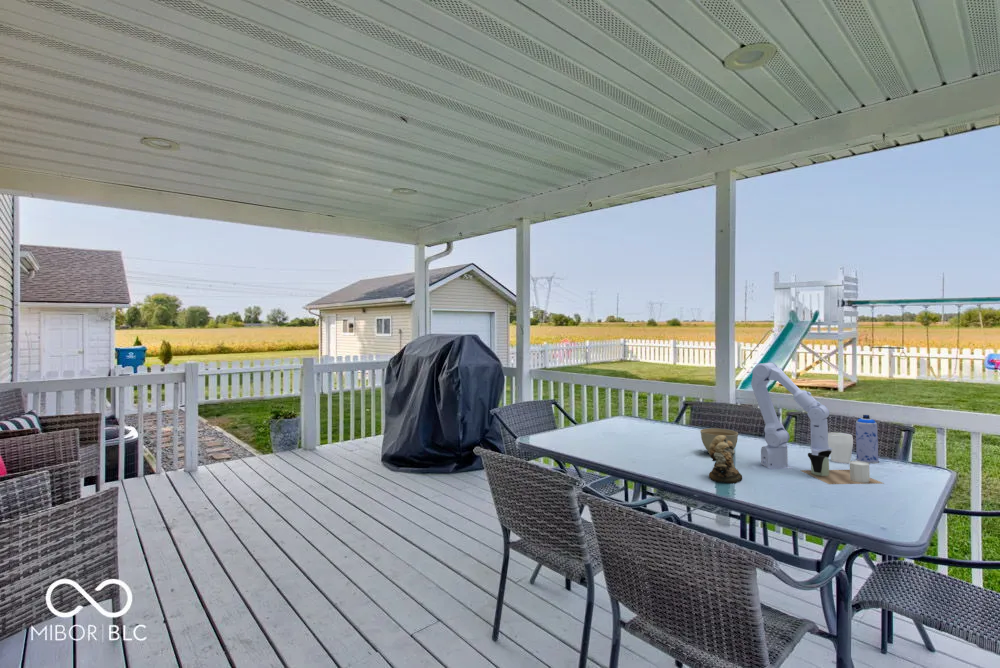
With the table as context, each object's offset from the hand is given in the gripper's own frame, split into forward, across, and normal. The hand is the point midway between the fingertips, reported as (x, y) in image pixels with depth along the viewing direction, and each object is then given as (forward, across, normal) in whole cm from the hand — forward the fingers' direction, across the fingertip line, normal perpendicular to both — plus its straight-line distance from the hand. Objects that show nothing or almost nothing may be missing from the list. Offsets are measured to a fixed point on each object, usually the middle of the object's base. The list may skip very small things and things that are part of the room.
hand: (820, 470), depth 189 cm
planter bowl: (+2, +6, +42) cm, 42 cm away
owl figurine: (+2, -28, +26) cm, 38 cm away
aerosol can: (+2, +36, -9) cm, 37 cm away
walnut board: (+2, +1, -6) cm, 7 cm away
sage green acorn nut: (+1, 0, 0) cm, 1 cm away
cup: (+2, +27, -1) cm, 27 cm away
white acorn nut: (+1, 0, -13) cm, 13 cm away
